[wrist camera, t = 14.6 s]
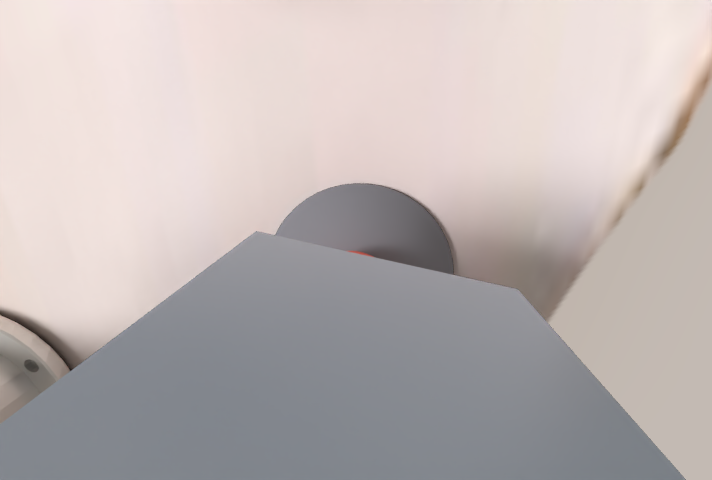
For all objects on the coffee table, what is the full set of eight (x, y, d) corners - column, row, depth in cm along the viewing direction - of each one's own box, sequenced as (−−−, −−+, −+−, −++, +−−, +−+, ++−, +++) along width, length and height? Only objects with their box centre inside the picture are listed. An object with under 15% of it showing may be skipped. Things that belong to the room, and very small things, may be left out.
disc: (335, 381, 21) (334, 383, 21) (232, 248, 19) (230, 249, 19) (485, 302, 19) (487, 304, 19) (389, 143, 17) (389, 143, 17)
